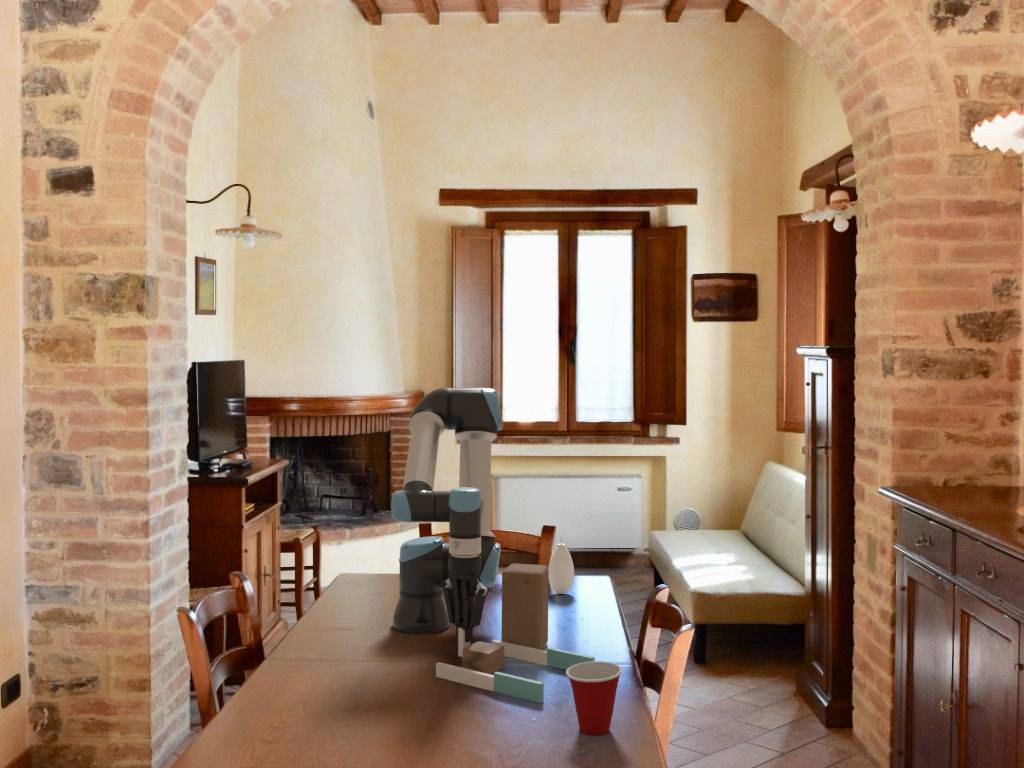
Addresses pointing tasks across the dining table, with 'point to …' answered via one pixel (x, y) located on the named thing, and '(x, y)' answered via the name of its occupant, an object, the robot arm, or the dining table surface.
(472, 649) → the walnut block
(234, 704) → the dining table surface
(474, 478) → the robot arm
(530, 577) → the wooden block
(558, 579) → the sauce bottle
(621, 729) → the dining table surface
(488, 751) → the dining table surface
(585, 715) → the plastic cup
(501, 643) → the walled lane
